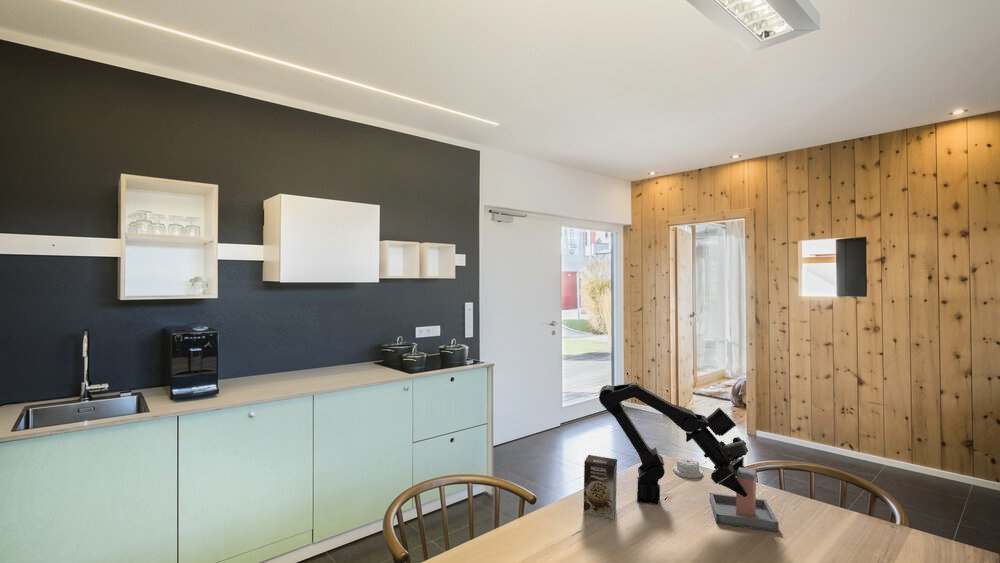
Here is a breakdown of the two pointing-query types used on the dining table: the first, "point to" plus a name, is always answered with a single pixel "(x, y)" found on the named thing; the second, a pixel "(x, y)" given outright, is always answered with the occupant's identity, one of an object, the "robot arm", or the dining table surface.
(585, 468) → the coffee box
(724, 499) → the tray
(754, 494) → the pink and gray block
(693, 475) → the white round piece
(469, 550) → the dining table surface
